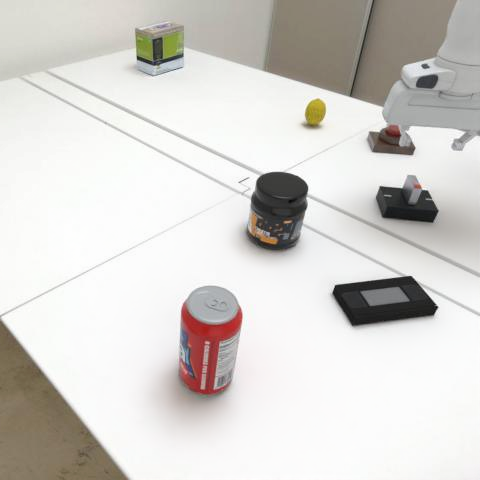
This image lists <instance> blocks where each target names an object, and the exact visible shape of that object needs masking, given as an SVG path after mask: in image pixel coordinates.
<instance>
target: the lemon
mask: <svg viewBox="0 0 480 480" xmlns="http://www.w3.org/2000/svg"><path fill="white" fill-rule="evenodd" d="M326 113H327V106H326V103H325V102H324V101H323V100H322V99H320V98H319V97H317V98H315V99H312V100H310V101H309V102H308V104H307V105H306V108H305V111H304V118H305V121H306V122H307V123H309V125H311V126H313V127H314V126H315V125H318V124H320V123H321V122H323V121H324V118H325V116H326Z"/></svg>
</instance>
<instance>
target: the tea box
mask: <svg viewBox="0 0 480 480" xmlns="http://www.w3.org/2000/svg"><path fill="white" fill-rule="evenodd" d="M134 31H135V32H134V33H135V34H134V37H135V50H136V51H135V53H136V54H135V55H136V56H135V57H136V69H137V70H138V71H141V72H143V73H146V74H148V75H150V76H157V75H160V74H163V73H167V72H169V71H170V72H171V71H173V70H176V69H179V68H180V69H181V68H183V67H184V66H185V56H184V54H185V25H183V24H179V23H175V22H171V21H167V20H164V21H160V22H155V23H152V24H151V23H150V24H147V25H142V26H139V27H135V28H134Z"/></svg>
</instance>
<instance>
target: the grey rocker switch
mask: <svg viewBox="0 0 480 480" xmlns="http://www.w3.org/2000/svg"><path fill="white" fill-rule="evenodd" d="M402 185H403V186H402V187H401V188H402V193H403V195H404V197H405V200H406V202H407V204H408V205H416V203H417V200H418V198H419V196H420V193H421V191H422V190H423V187H422V185H421V184H420V182H419V179H418V178H417V176H416V175H415V174H407V176H406V178H405V180H404V182H403V184H402Z"/></svg>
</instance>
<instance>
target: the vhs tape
mask: <svg viewBox="0 0 480 480" xmlns="http://www.w3.org/2000/svg"><path fill="white" fill-rule="evenodd" d="M332 295H333V297H334V298H335V300H336V302H337V303H338V305H339V307H340V308H341V309H342V311H343V313H344V314H345V316H346V317H347V320H349V322H350V324H351V325H352V326H353V327H354V326H363V325H369V324H377V323H386V322H390V321H391V322H393V321H399V320H407V319H414V318H422V317H429V316H434V315H435V314H436V312H437V311H438V309H439V306H438V305H437V304H436V303H435V301H434V300H433V299H432V298H431V296H429V294H428V293H427V292H426V290H425V289H424V288H423V287H422V286H421V285H420V284H419V283H418V281H417V280H416V279H415V277H413V276H412V275H406V276H405V275H403V276H397V277H389V278H380V279H372V280H371V279H370V280H365V281H364V280H363V281H355V282H348V283H347V282H346V283H339V284H334V287H333V290H332Z"/></svg>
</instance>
